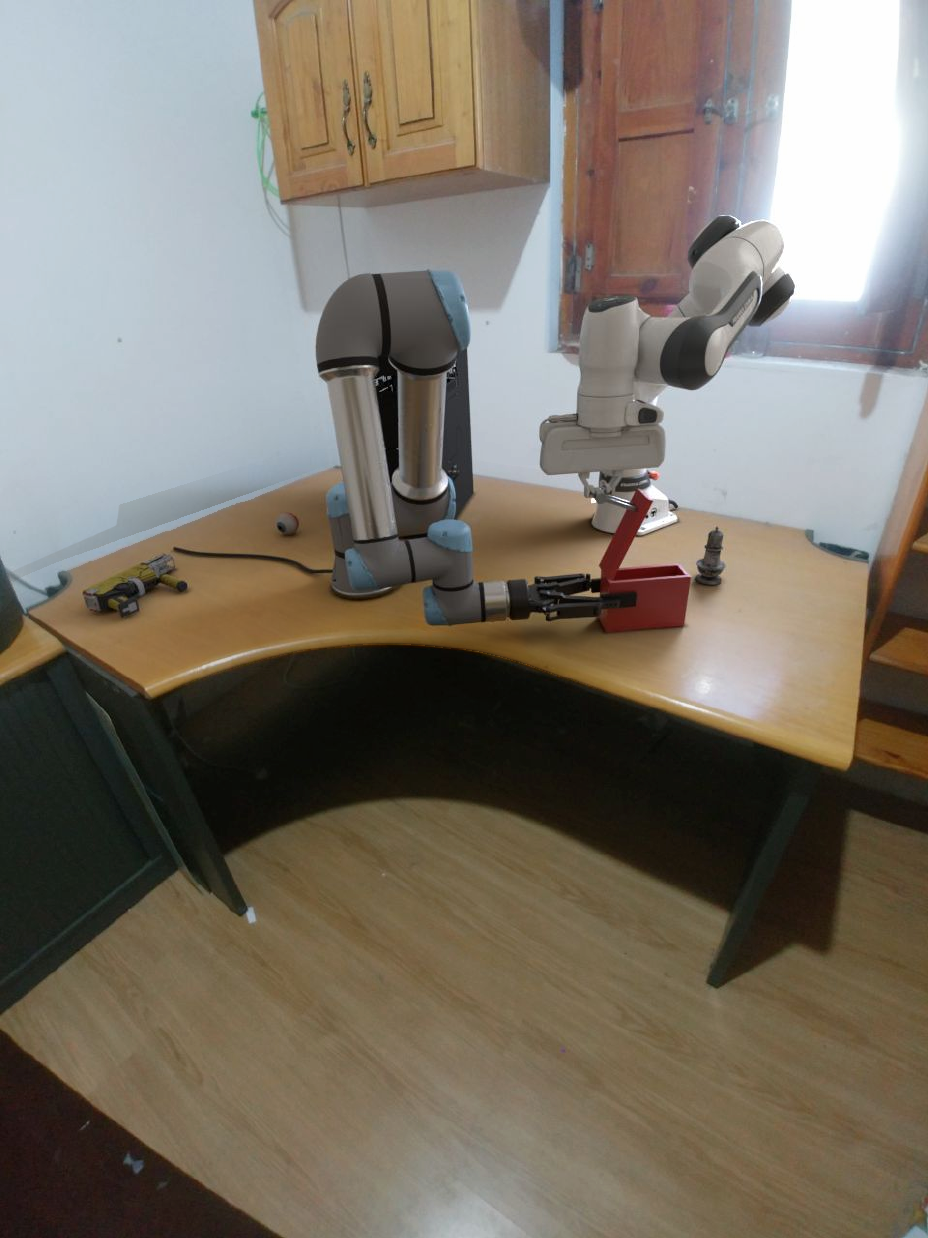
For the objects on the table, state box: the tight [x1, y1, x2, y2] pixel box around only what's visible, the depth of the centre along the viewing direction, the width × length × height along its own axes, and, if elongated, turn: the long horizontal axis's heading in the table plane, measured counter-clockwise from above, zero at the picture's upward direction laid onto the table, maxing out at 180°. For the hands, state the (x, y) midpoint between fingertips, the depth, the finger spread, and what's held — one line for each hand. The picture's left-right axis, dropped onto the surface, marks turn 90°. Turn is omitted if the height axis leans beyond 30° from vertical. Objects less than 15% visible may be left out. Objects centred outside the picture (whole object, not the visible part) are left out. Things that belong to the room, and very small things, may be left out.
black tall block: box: [375, 347, 475, 539], centre depth 163 cm, size 38×20×45 cm, turn 167°
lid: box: [592, 486, 653, 581], centre depth 106 cm, size 16×6×9 cm
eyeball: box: [275, 511, 300, 536], centre depth 163 cm, size 6×6×6 cm
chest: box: [597, 562, 692, 633], centre depth 113 cm, size 15×6×10 cm, turn 94°
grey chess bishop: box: [695, 526, 727, 586], centre depth 126 cm, size 6×6×12 cm
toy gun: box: [81, 552, 188, 619], centre depth 136 cm, size 5×24×15 cm
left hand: (630, 591), depth 112 cm, fingers closed on chest, 6 cm apart
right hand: (599, 496), depth 102 cm, fingers closed on lid, 2 cm apart
